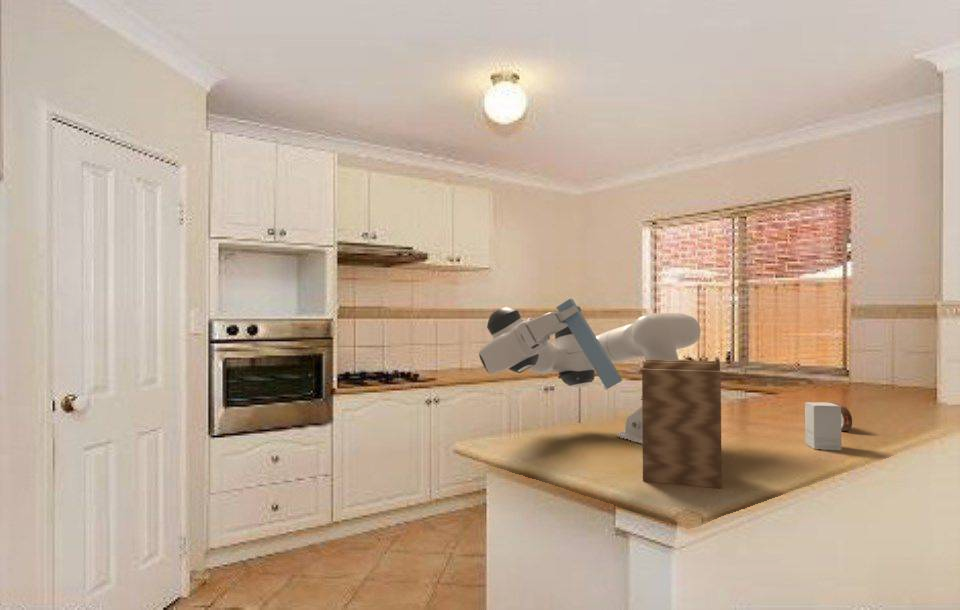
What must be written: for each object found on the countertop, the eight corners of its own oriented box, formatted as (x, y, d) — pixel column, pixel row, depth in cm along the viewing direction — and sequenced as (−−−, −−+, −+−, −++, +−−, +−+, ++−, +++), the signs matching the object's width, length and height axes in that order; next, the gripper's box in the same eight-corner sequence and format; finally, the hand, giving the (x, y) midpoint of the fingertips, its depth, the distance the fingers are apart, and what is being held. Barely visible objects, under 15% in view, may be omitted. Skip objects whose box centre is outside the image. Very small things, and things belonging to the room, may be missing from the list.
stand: (642, 480, 135) (642, 358, 135) (647, 465, 148) (646, 354, 148) (721, 488, 129) (720, 360, 129) (719, 472, 142) (718, 356, 142)
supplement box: (842, 450, 163) (841, 406, 163) (813, 449, 165) (813, 405, 165) (832, 445, 170) (831, 402, 171) (804, 444, 172) (804, 401, 172)
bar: (556, 307, 148) (569, 298, 146) (559, 307, 151) (572, 299, 150) (606, 389, 143) (620, 381, 142) (608, 387, 147) (622, 379, 145)
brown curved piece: (853, 433, 187) (853, 407, 187) (843, 433, 187) (843, 407, 187) (826, 424, 202) (825, 400, 202) (816, 424, 202) (816, 400, 202)
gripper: (548, 343, 161) (591, 318, 157) (528, 347, 142) (577, 319, 138) (537, 323, 162) (580, 298, 158) (516, 325, 143) (563, 296, 139)
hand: (578, 308), depth 148 cm, fingers closed on bar, 4 cm apart
